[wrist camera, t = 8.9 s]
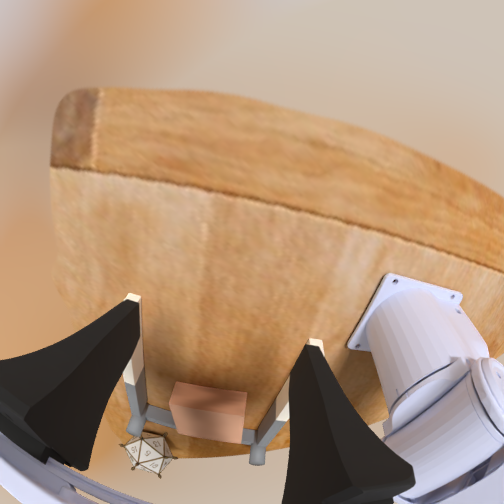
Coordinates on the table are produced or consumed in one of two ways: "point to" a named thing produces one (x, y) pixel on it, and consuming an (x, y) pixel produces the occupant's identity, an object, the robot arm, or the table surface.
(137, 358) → the lane walls
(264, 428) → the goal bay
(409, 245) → the table surface
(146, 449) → the game die
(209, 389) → the sliding block
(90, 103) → the table surface
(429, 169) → the table surface
